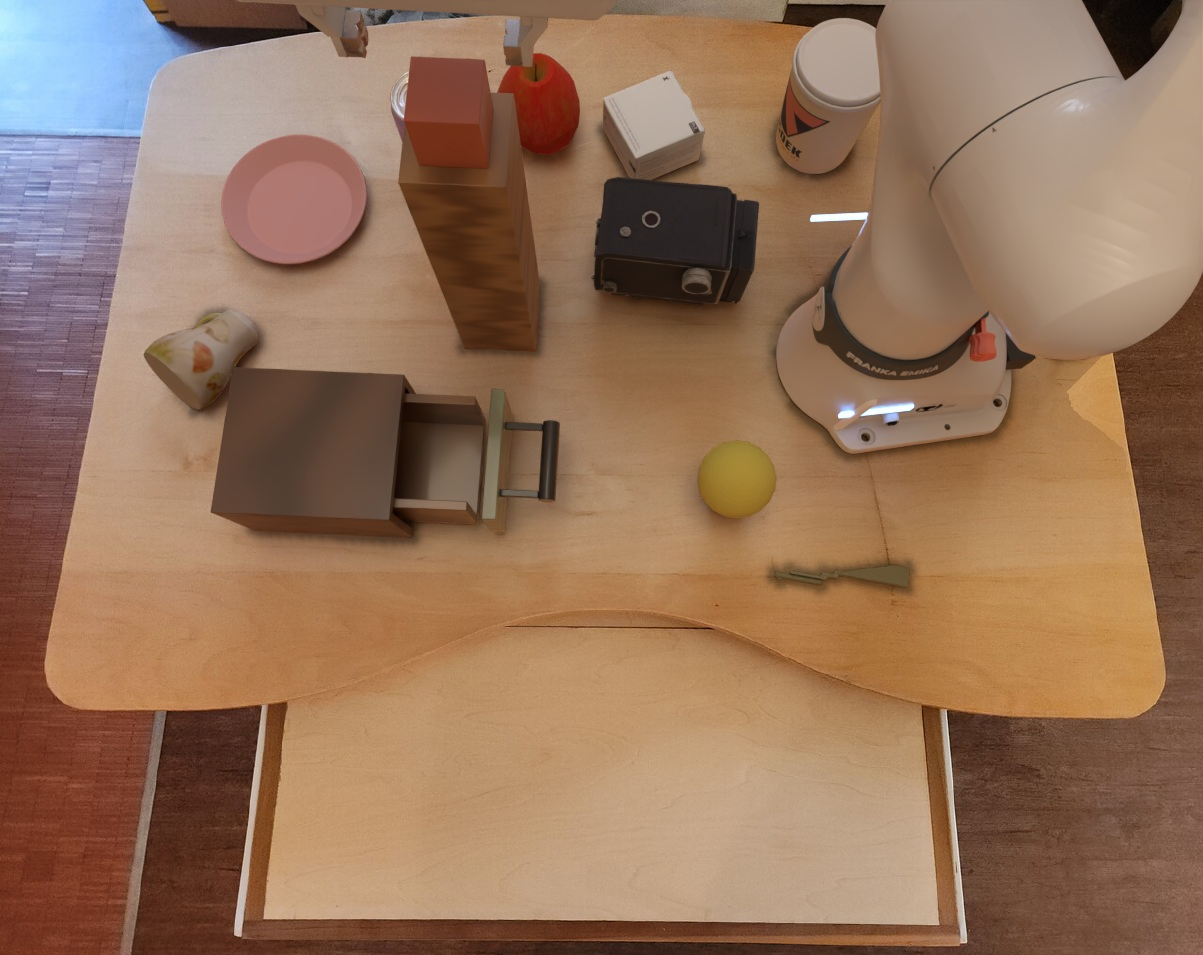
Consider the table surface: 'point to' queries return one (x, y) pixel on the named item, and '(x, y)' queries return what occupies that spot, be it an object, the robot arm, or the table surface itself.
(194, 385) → the mug
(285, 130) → the table surface
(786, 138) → the coffee cup
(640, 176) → the small box
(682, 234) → the camera
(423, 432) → the drawer
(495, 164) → the stand
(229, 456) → the cabinet
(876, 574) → the toy shotgun
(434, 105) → the block
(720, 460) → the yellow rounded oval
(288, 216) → the plate
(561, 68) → the apple
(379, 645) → the table surface
